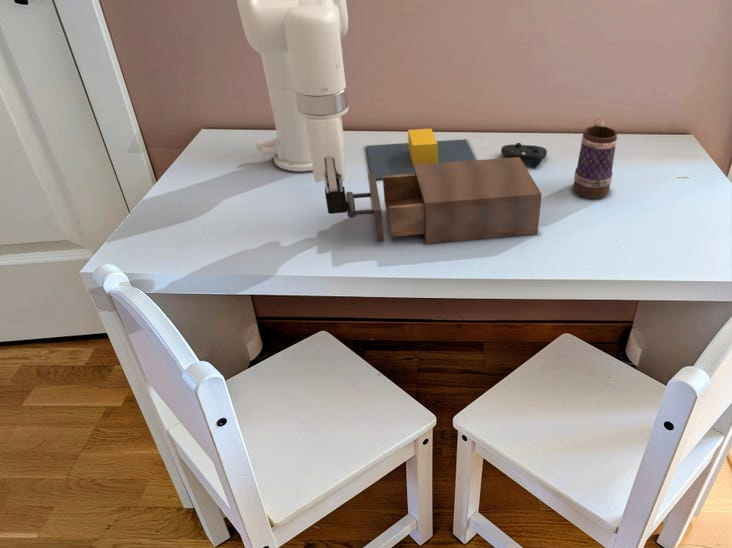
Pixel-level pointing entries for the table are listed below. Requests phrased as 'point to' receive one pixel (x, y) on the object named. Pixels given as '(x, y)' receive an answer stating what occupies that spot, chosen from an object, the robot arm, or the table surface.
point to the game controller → (525, 153)
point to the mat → (399, 160)
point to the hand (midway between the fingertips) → (337, 210)
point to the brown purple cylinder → (595, 161)
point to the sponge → (422, 146)
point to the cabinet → (478, 199)
